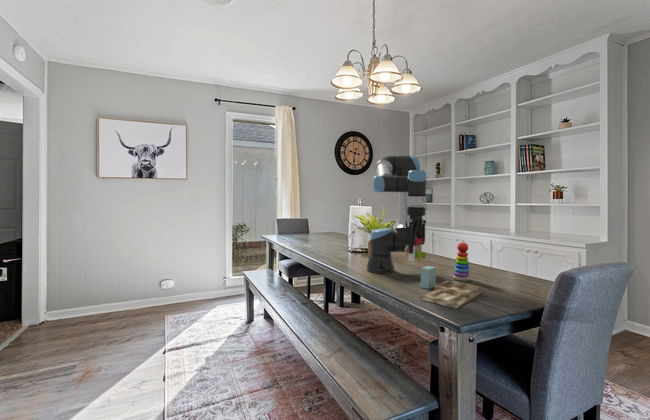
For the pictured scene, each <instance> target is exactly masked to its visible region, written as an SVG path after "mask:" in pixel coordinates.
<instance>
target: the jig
mask: <svg viewBox="0 0 650 420" xmlns="http://www.w3.org/2000/svg"><path fill="white" fill-rule="evenodd" d="M481 291H482V286H477V285H473V284H468V283H463V282H456V281H453V280H445V281H443V282H441V283H439V284H436V286H435V287H434V290H433V291H430V292H428V293H426V294H422V293H421V294H420V296H419V300H421V301H425V302H429V303H433V304H437V305H442V306H445V307H449V308H453V309H457V308H458V309H459V307H461V306H463V305H464V304H465V303H468V302H469V301H471V300H473V299H474V298H476V297H478V296H480V295H481Z"/></svg>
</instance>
